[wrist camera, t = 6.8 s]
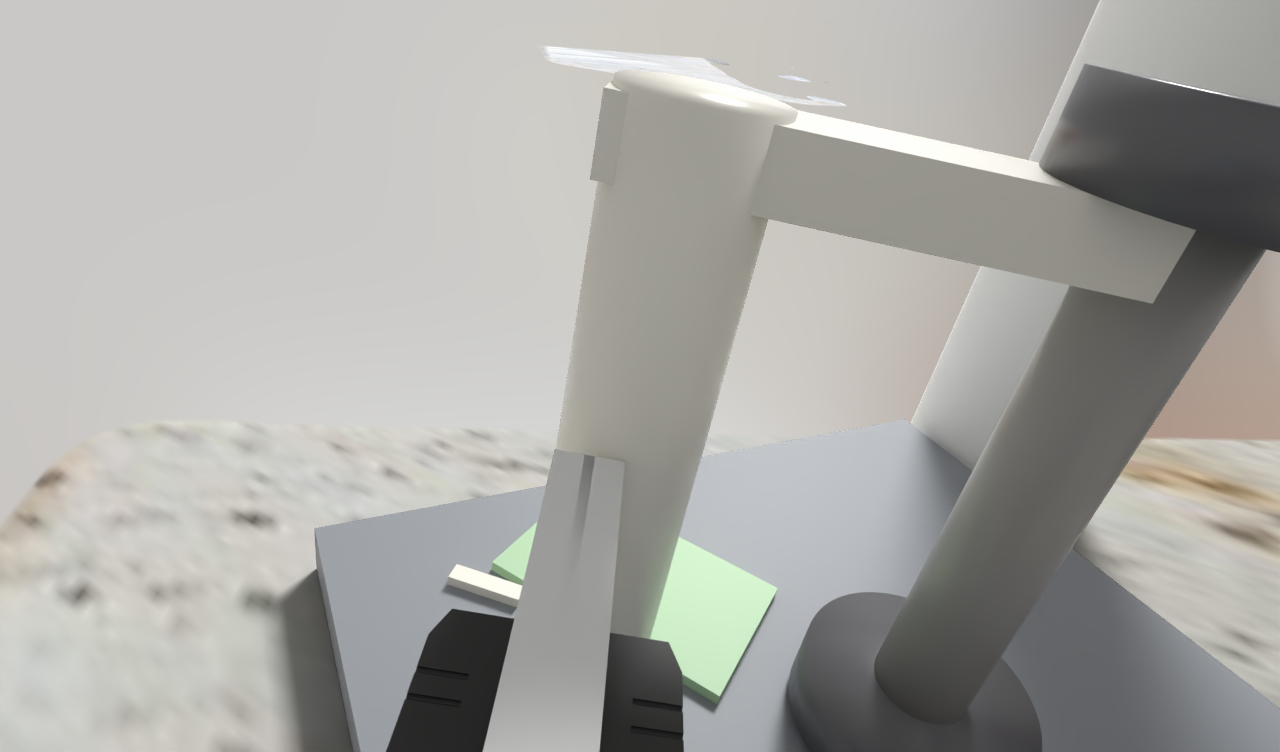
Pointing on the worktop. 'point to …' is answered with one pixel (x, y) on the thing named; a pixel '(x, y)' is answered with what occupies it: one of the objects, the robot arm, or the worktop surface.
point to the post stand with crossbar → (937, 225)
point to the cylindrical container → (1008, 302)
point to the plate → (784, 601)
